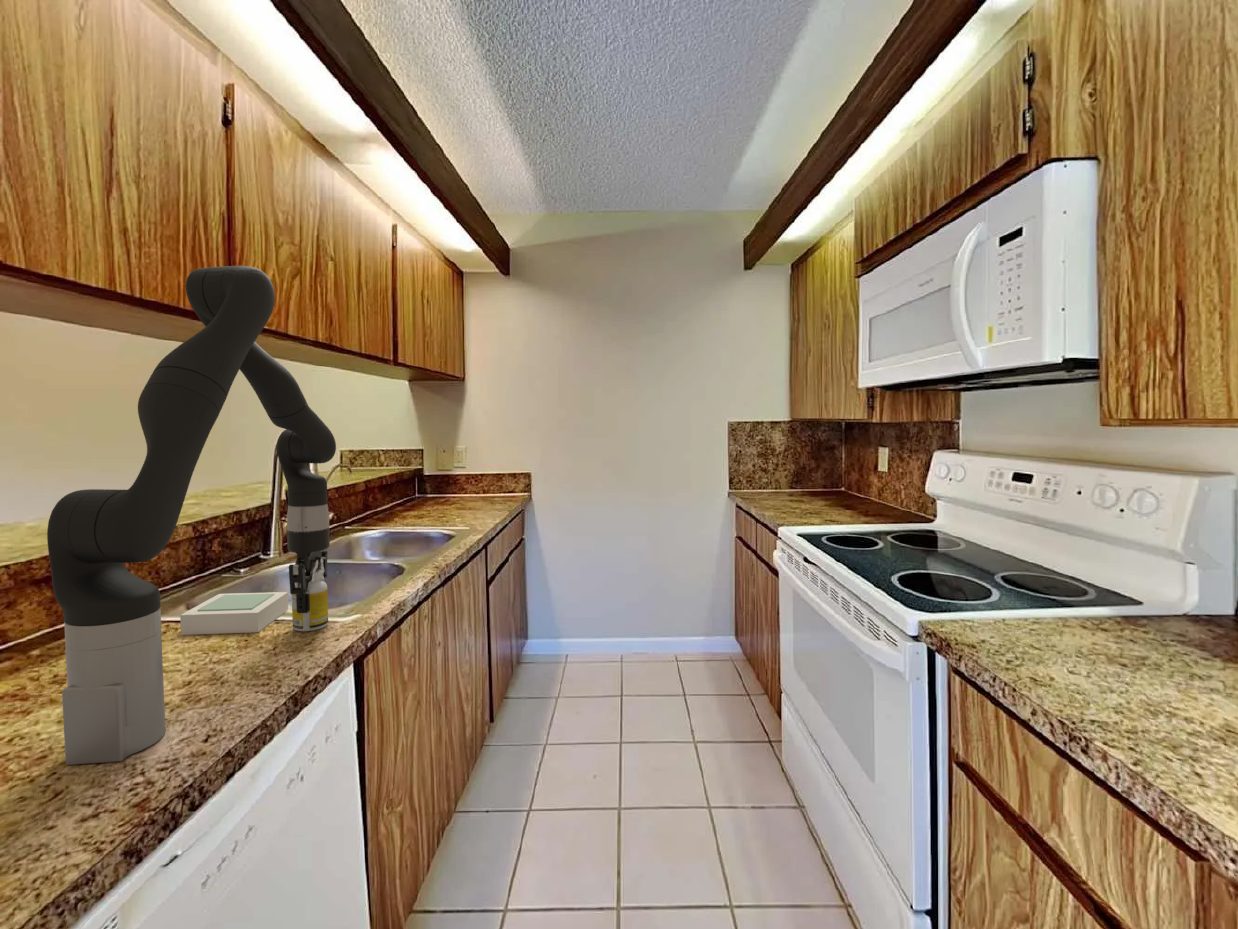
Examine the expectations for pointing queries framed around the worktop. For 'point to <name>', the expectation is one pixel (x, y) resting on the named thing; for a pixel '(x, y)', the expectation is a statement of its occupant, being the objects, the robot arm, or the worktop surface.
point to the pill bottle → (312, 607)
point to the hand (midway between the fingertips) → (310, 606)
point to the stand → (234, 613)
